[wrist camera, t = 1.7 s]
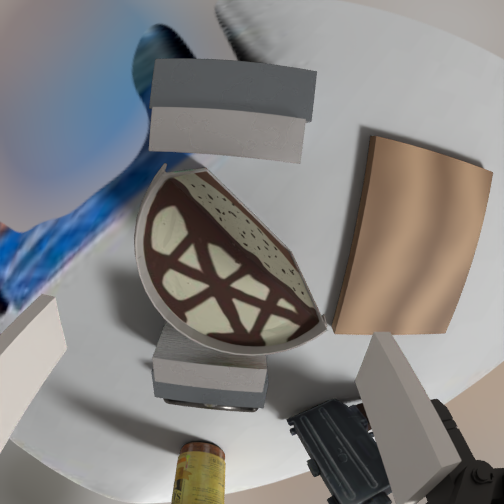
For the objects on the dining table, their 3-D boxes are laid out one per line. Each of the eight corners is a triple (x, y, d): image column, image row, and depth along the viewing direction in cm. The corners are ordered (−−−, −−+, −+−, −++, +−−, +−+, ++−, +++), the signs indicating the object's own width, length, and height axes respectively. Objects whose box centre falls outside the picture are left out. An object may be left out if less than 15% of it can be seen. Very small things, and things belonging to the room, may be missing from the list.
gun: (480, 461, 18) (353, 547, 16) (396, 379, 34) (288, 432, 31) (488, 449, 17) (354, 543, 15) (397, 364, 33) (284, 419, 30)
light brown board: (331, 326, 28) (334, 334, 26) (370, 135, 22) (376, 136, 20) (440, 327, 28) (445, 333, 27) (485, 170, 22) (493, 172, 21)
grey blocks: (169, 380, 30) (155, 431, 23) (176, 77, 20) (148, 55, 13) (256, 389, 30) (259, 442, 24) (300, 87, 20) (322, 68, 14)
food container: (140, 211, 24) (81, 259, 14) (191, 154, 22) (153, 166, 13) (249, 309, 27) (251, 393, 17) (303, 263, 25) (333, 335, 16)
